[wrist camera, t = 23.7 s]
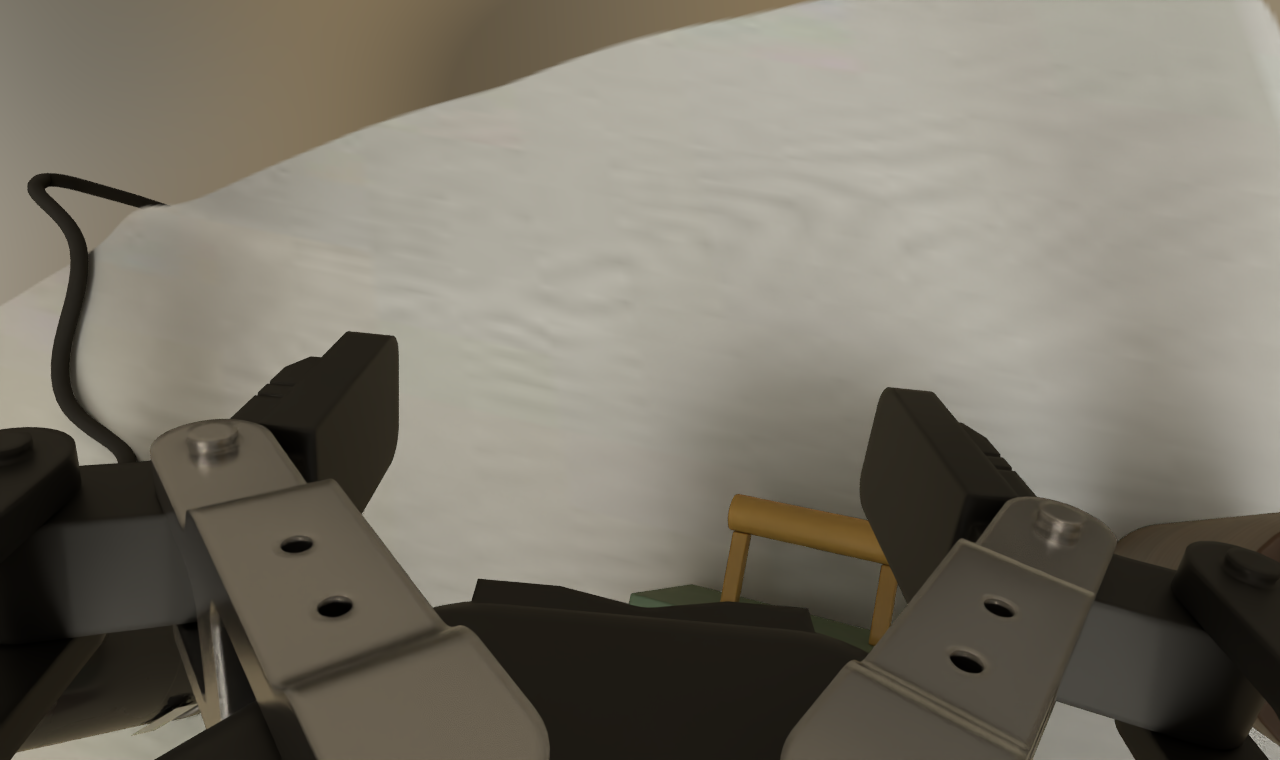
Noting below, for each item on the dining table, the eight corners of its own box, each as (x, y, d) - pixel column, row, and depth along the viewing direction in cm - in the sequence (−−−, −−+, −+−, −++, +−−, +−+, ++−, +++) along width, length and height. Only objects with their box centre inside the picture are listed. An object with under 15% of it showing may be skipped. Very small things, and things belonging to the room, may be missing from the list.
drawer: (709, 487, 36) (653, 476, 30) (983, 543, 32) (983, 544, 26) (628, 907, 34) (552, 985, 28) (908, 1030, 30) (888, 1155, 24)
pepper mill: (1070, 567, 31) (1213, 613, 12) (1189, 497, 30) (1569, 419, 11) (1160, 686, 30) (1505, 975, 10) (1290, 616, 29) (1966, 788, 9)
